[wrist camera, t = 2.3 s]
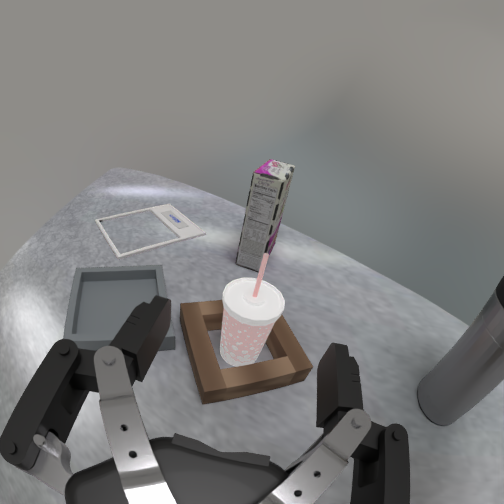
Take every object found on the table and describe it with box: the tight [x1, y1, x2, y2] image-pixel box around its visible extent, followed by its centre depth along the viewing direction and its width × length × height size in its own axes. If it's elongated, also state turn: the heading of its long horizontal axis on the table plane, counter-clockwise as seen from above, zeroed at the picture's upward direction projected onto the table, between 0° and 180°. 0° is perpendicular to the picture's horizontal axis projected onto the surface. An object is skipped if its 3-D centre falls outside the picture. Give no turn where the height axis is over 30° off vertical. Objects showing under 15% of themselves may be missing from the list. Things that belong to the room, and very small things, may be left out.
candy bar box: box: [236, 160, 295, 272], centre depth 46 cm, size 11×5×16 cm, turn 164°
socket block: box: [180, 300, 313, 404], centre depth 30 cm, size 12×12×3 cm
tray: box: [63, 265, 175, 351], centre depth 31 cm, size 13×13×2 cm
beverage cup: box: [220, 253, 285, 367], centre depth 27 cm, size 6×6×14 cm
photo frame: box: [95, 204, 206, 260], centre depth 50 cm, size 15×1×18 cm
